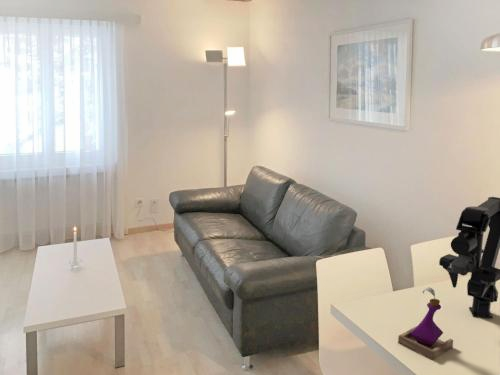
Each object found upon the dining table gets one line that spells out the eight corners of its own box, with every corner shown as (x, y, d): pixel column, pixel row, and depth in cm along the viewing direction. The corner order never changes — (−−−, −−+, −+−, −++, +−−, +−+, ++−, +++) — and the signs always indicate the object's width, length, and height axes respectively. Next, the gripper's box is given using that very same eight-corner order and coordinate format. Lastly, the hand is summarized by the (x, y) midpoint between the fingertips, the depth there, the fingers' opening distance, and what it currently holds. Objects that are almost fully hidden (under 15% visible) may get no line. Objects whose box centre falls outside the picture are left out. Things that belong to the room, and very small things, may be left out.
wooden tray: (418, 331, 160) (418, 324, 160) (452, 347, 151) (453, 340, 150) (398, 343, 154) (398, 335, 153) (432, 359, 144) (433, 352, 144)
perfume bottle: (442, 341, 153) (447, 288, 149) (433, 351, 148) (437, 296, 144) (419, 333, 158) (423, 281, 154) (409, 342, 153) (413, 289, 149)
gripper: (431, 244, 158) (428, 289, 162) (488, 260, 144) (483, 309, 147) (450, 237, 165) (446, 280, 169) (506, 252, 151) (501, 299, 154)
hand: (467, 291), depth 159 cm, fingers open, 9 cm apart
